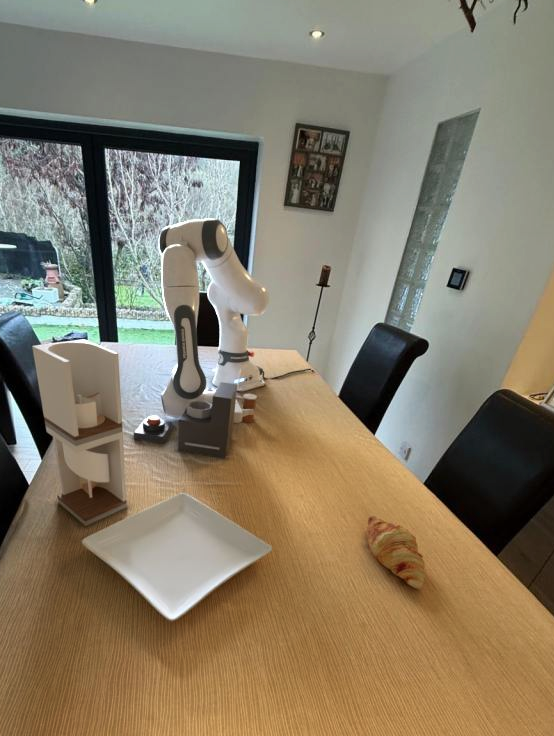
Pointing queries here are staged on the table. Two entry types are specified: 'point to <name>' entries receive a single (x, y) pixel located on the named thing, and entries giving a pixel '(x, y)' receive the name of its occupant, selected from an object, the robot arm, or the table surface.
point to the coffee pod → (249, 406)
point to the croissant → (396, 551)
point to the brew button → (153, 420)
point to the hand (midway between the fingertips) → (250, 406)
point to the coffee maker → (209, 424)
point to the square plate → (176, 552)
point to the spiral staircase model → (84, 425)
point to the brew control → (153, 431)
